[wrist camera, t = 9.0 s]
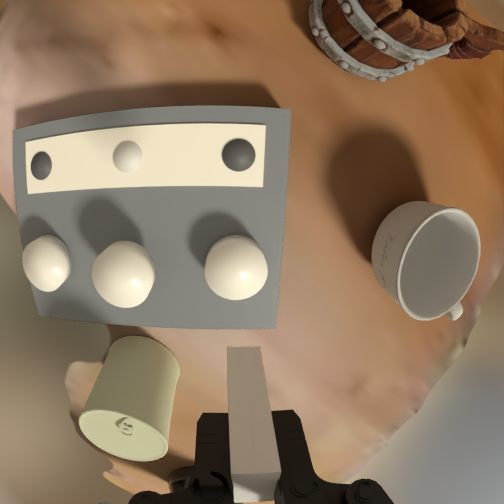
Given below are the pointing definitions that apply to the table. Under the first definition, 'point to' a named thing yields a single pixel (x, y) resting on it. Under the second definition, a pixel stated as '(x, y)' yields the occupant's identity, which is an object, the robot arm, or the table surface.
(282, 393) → the table surface
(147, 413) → the can
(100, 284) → the button middle
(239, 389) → the robot arm
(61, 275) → the button
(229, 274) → the button
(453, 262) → the teacup
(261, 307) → the button board
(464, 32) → the mug
